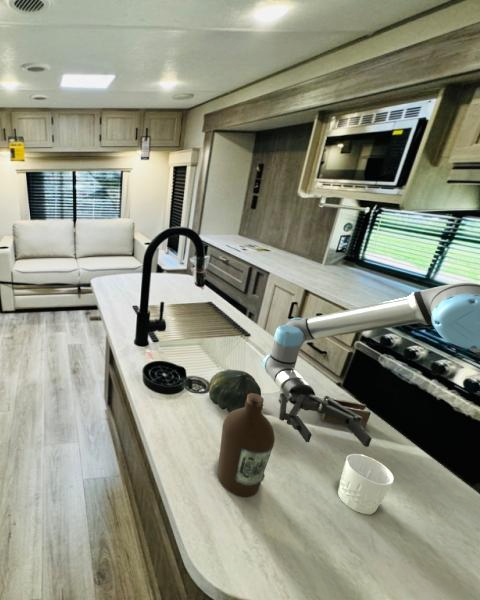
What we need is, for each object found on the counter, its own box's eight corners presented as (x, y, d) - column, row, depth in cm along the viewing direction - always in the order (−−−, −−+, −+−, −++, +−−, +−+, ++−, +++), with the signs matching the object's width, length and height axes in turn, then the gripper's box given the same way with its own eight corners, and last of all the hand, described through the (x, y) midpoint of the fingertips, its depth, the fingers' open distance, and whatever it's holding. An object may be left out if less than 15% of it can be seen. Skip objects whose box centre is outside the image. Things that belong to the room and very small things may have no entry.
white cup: (374, 494, 73) (388, 462, 69) (383, 524, 67) (399, 491, 63) (332, 479, 77) (343, 448, 73) (337, 506, 70) (349, 474, 67)
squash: (210, 371, 111) (215, 358, 99) (256, 381, 106) (268, 369, 93) (204, 411, 106) (209, 402, 93) (253, 424, 101) (265, 417, 88)
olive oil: (206, 463, 82) (220, 384, 73) (245, 460, 82) (263, 381, 73) (227, 502, 72) (246, 416, 63) (271, 498, 73) (296, 412, 64)
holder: (357, 421, 94) (364, 403, 92) (364, 433, 90) (371, 414, 88) (318, 413, 98) (323, 395, 95) (322, 424, 94) (328, 405, 91)
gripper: (254, 375, 97) (288, 424, 78) (341, 379, 94) (399, 432, 75) (250, 395, 100) (281, 447, 81) (334, 400, 97) (388, 456, 77)
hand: (338, 440), depth 78 cm, fingers open, 13 cm apart
